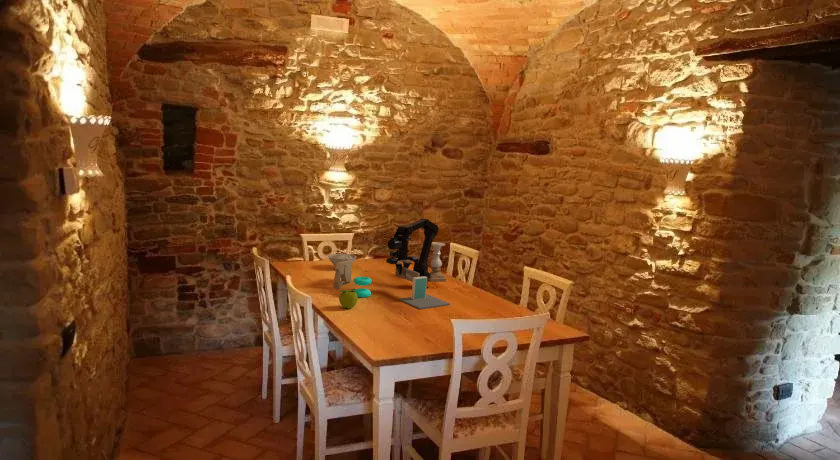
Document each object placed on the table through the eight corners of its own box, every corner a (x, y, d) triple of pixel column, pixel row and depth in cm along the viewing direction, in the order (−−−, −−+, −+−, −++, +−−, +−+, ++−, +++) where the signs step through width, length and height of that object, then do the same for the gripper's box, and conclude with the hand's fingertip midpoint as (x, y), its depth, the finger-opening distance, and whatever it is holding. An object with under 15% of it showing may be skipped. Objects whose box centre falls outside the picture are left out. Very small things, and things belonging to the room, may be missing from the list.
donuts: (353, 275, 297) (371, 276, 298) (352, 293, 298) (370, 293, 300) (354, 280, 287) (372, 280, 289) (353, 298, 288) (371, 298, 290)
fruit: (358, 310, 266) (359, 290, 265) (340, 310, 264) (340, 291, 262) (355, 305, 275) (356, 286, 274) (337, 305, 272) (338, 286, 271)
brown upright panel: (398, 275, 309) (399, 265, 308) (420, 283, 291) (420, 273, 291) (395, 275, 308) (395, 265, 307) (416, 284, 290) (417, 273, 289)
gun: (338, 289, 304) (339, 263, 303) (332, 289, 305) (334, 263, 304) (351, 284, 328) (353, 260, 327) (346, 283, 329) (348, 259, 328)
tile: (423, 297, 294) (425, 276, 292) (425, 298, 293) (427, 277, 291) (411, 298, 290) (413, 277, 288) (413, 299, 288) (415, 278, 286)
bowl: (328, 265, 368) (328, 251, 366) (356, 266, 370) (356, 252, 369) (326, 271, 349) (327, 256, 347) (356, 272, 351) (356, 257, 350)
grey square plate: (428, 296, 301) (428, 294, 301) (450, 305, 285) (450, 303, 285) (398, 299, 289) (398, 298, 289) (419, 309, 273) (419, 307, 273)
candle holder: (440, 277, 350) (442, 241, 347) (446, 281, 340) (448, 244, 337) (424, 277, 347) (426, 241, 344) (430, 281, 336) (432, 244, 333)
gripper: (409, 244, 314) (407, 270, 316) (381, 246, 303) (380, 273, 305) (419, 248, 305) (418, 274, 307) (392, 249, 294) (390, 277, 296)
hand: (401, 274), depth 304 cm, fingers closed on brown upright panel, 2 cm apart
